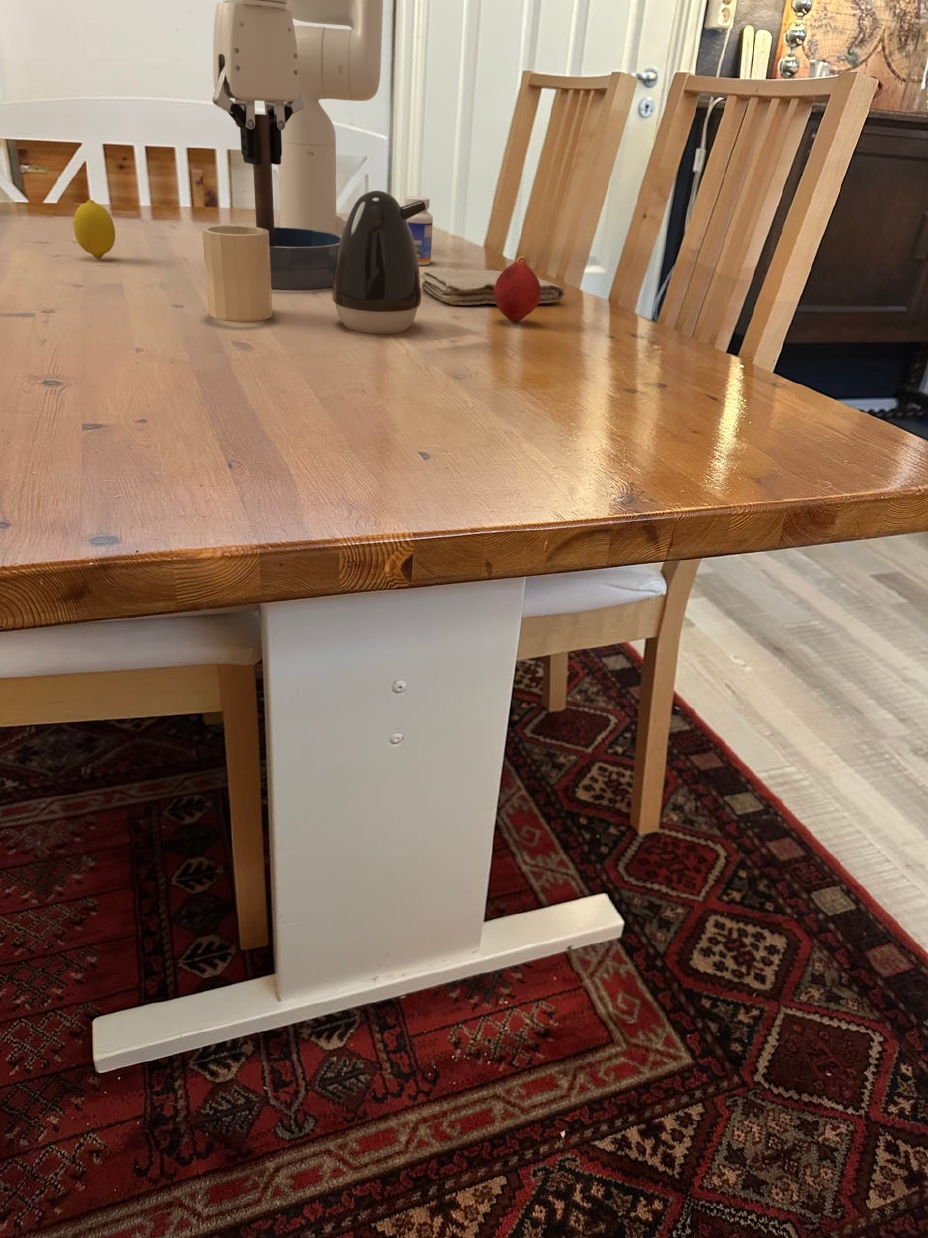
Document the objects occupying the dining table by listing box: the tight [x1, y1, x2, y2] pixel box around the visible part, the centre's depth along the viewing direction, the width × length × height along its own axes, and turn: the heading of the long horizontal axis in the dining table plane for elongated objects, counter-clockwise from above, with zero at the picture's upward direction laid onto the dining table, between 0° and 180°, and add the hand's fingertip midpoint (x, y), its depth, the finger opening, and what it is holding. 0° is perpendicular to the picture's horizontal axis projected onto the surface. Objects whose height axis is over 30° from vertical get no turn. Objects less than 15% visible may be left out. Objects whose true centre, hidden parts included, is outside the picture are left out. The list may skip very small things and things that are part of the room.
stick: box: [252, 113, 275, 246], centre depth 119 cm, size 2×2×18 cm
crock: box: [201, 224, 273, 323], centre depth 104 cm, size 7×7×10 cm
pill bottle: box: [403, 195, 434, 266], centre depth 144 cm, size 5×5×10 cm
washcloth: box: [420, 269, 565, 306], centre depth 126 cm, size 12×18×3 cm, turn 111°
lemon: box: [73, 199, 116, 260], centre depth 130 cm, size 6×6×8 cm
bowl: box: [270, 226, 341, 291], centre depth 125 cm, size 18×18×6 cm
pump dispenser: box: [331, 190, 426, 335], centre depth 102 cm, size 10×10×15 cm
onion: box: [494, 255, 541, 324], centre depth 113 cm, size 6×6×8 cm
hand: (262, 161), depth 117 cm, fingers closed on stick, 2 cm apart
